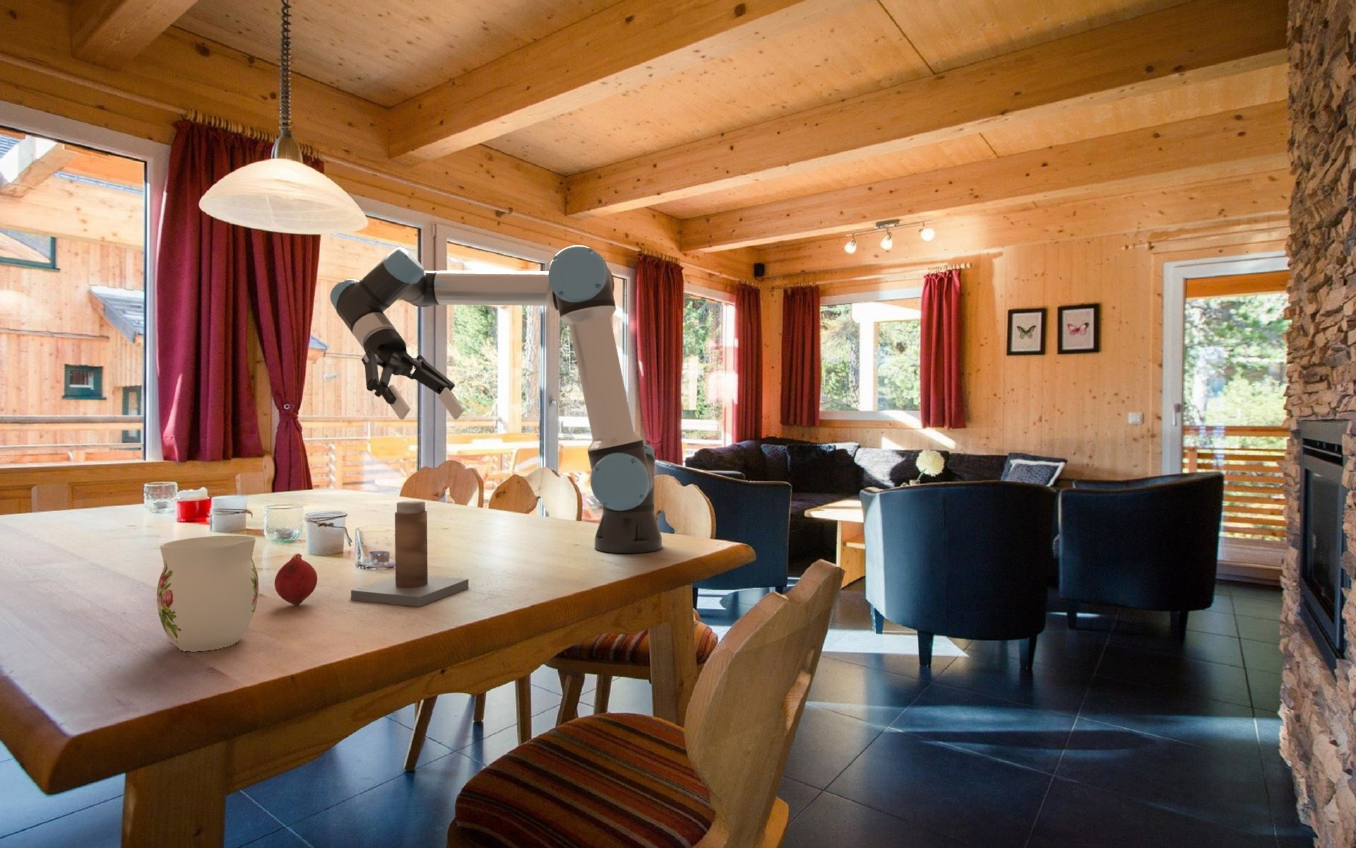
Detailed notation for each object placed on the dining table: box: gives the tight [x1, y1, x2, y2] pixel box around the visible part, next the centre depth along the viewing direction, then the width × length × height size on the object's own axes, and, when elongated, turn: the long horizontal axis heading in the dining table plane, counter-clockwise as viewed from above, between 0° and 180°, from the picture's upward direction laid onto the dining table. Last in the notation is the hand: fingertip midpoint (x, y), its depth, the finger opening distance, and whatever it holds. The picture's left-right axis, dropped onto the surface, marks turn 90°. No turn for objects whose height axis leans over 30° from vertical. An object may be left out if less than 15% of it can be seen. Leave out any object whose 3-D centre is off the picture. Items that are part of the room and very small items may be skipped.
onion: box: [273, 553, 318, 606], centre depth 112 cm, size 6×6×8 cm
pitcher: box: [156, 535, 260, 653], centre depth 94 cm, size 11×18×14 cm, turn 45°
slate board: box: [350, 575, 469, 608], centre depth 120 cm, size 13×13×2 cm
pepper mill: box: [394, 500, 429, 588], centre depth 120 cm, size 5×5×14 cm
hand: (433, 414), depth 140 cm, fingers open, 13 cm apart
